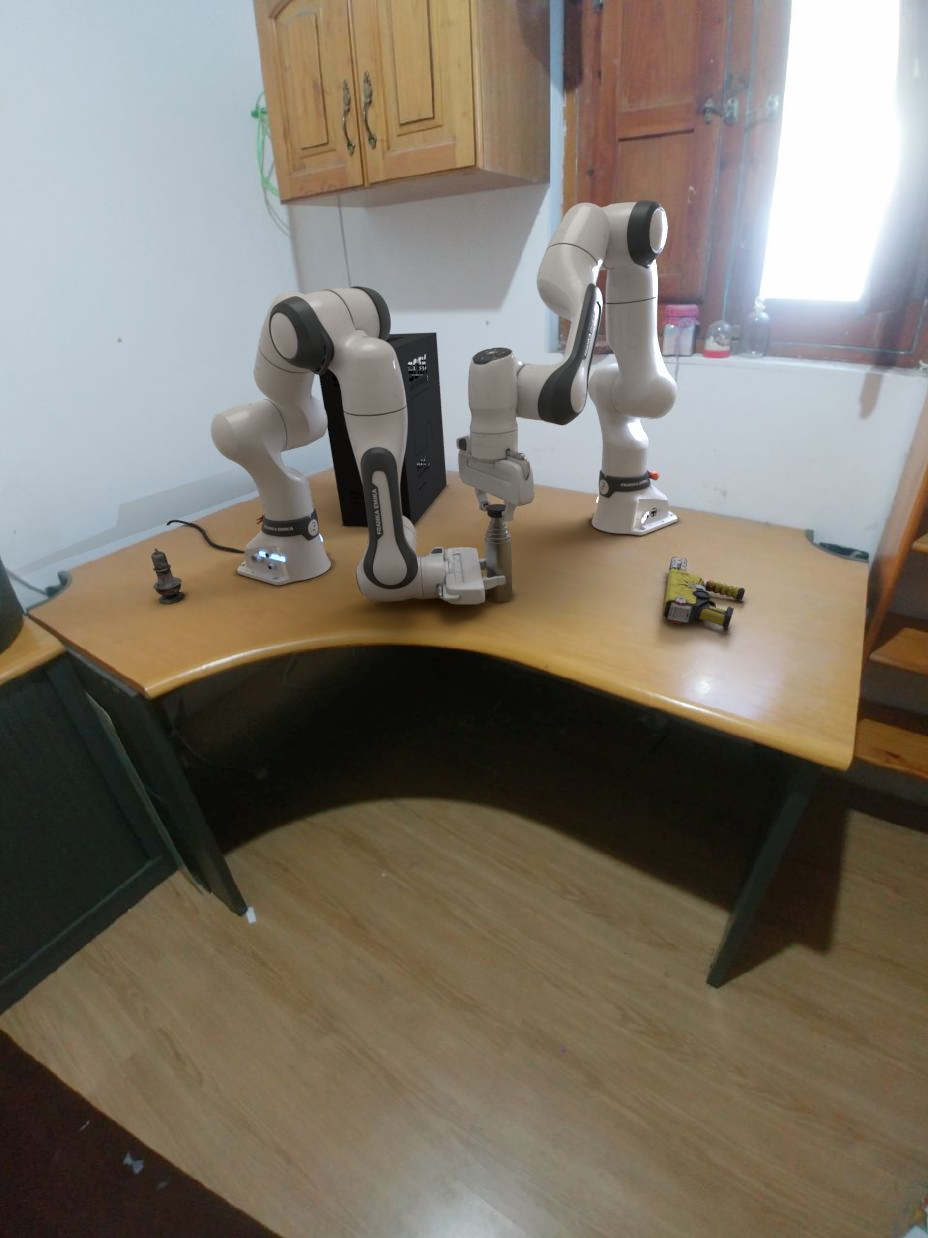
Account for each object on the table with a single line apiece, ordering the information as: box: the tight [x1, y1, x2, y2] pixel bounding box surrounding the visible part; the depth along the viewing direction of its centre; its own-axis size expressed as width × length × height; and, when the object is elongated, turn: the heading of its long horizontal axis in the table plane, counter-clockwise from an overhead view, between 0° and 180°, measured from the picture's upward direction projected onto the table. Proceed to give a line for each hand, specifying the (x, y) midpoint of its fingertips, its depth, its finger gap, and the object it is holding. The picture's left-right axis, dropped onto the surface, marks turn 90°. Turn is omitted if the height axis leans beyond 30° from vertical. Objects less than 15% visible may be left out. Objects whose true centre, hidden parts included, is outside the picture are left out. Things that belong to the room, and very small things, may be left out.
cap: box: [486, 503, 506, 519], centre depth 118 cm, size 4×4×2 cm
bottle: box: [484, 517, 513, 603], centre depth 123 cm, size 5×5×19 cm
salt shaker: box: [150, 547, 185, 604], centre depth 132 cm, size 6×6×12 cm
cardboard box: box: [318, 332, 448, 527], centre depth 171 cm, size 38×20×45 cm, turn 167°
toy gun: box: [662, 556, 746, 632], centre depth 120 cm, size 5×24×15 cm
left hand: (503, 572), depth 125 cm, fingers closed on bottle, 5 cm apart
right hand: (496, 515), depth 119 cm, fingers open, 6 cm apart
